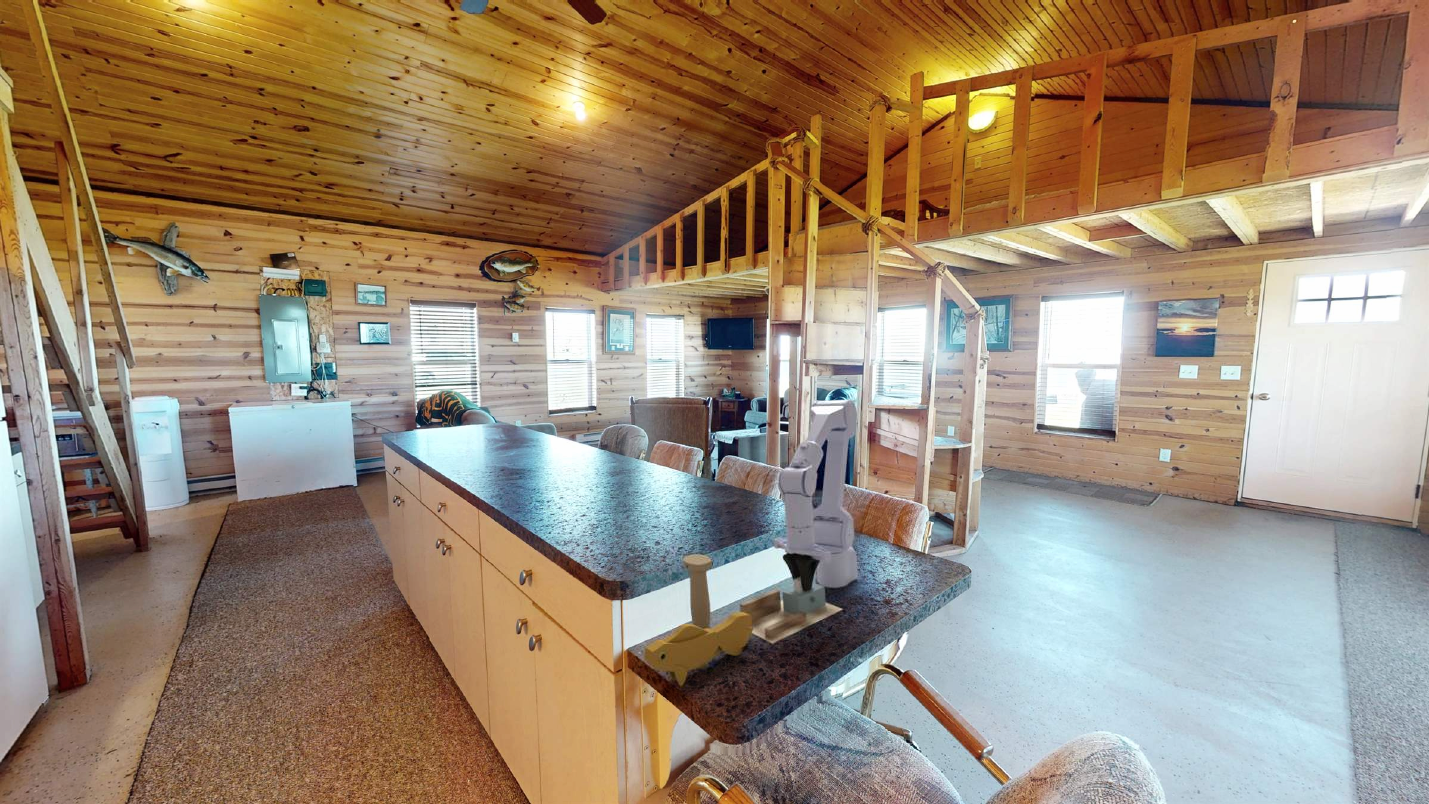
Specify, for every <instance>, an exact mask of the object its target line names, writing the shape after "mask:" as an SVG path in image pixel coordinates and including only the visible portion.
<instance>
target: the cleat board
mask: <svg viewBox="0 0 1429 804" xmlns="http://www.w3.org/2000/svg"><path fill="white" fill-rule="evenodd" d="M825 603H826V605H825V606H823V607H821V608H818V609H816V610H814V611H812V612H810V613H808V614H806V613H804V612H802V611H801V612H799V613H797V614H795V615H793V614H790V613H788V612H786V611H784V609H783V599H782V600H781V591H780V590H779V589H773V590H770V591H768V592H766V593H763V594H760V595H758V596H756V597H755V596H754V597H753V598H751V599H748V600H746V601H742V602H741V603H739V612H744V613H746V614H748V615H751V616H752V624H751V627H753V631H752V633H751V634H753V635H755V636H756V637H759V638H760V639H762V640H765V641H766V642H768V643H771V644H775V643H777V642H779V641H782V639H783V640H784V639H785V638H787V637H790V636H791V635H793V634H795V633H797V632H800V631H801V630H803V629H806V628H809V626H811V625H814V624H816V623H818V622H820V621H821V620H824V619H826V618H828V617H830V616H832V615H834V614H836V613H838V612H841V611H843V608H840V607H838V606H836V605H834V604H831V603H828V602H826V601H825Z"/></svg>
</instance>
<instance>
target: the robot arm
mask: <svg viewBox="0 0 1429 804" xmlns="http://www.w3.org/2000/svg"><path fill="white" fill-rule="evenodd" d="M809 412H810V414H809V415H810V420H811V424H810V425H811V426H810V429H809V431H808V435H807V437H806V441H802V442H800V443H799V445H798V446H797V448H796V451H795V452H794V454H793V457H792V458H791V460H790V463H789V465H788V466H787V467H785V468H784V469H782V470H781V471H780V472H779V474H778V482H777V487H778V490H779V493H780V495H781V501H782V504H784V514H785V515H784V516H785V531H786V538H785V537H781V536H780V537H776V538H773V546H774V547H773V548H774V549H782V550H784V552H785V554H783V555H782V560H783V561H784V563H785V564H786V566H787V568H788V570H789V572H790V574H791V575H790V576H791V577H792V580H793V582H794V579H795V578H798V577H801V585H802V589H803V591H808V590H810V589H812V583H814V578H815V573H816V577H817V579H816V580H817V584H819V585H821V586H824V587H825V588H834V589H836V588H842V587H846V586H848V585H849V584H850V583H851V582H853V581H856V580H858V579H859V576H858V558H857V553H856V551H855V548H853V544H854V540H855V529H854V518H853V515H851V514H850V513H849V512H848V511H847V510H846V509H845V508H844V507H843V504H844V496H845V495H844V494H845V493H844V492H845V483H846V482H845V481H846V474H847V473H846V472H847V461H848V452H849V451H848V450H849V440H850V439H851V438H853V437H854V436H855V434H856V431H857V421H858V411H857V407H856V404H855V402H854V401H853V400H852V399H851V398H849V399H837V400H834V399H833V400H818V399H817V400H814V401H813V402H812V404H811V406H810V411H809ZM825 441H827V446H826V447H827V448H826V457H825V466H824V467H825V468H824V474H823V475H824V476H823V487H822V493H821V494H822V496H821V504H820V505H819V506H818V507H816V508H815V509H813V508H814V507H813V494H814V493H815V491H816V488H817V479H818V472H817V471H818V468H819V466H820V464H821V462H822V459H823V456H824V450H823V449H822V447H823V445H824V443H825Z"/></svg>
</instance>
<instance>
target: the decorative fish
mask: <svg viewBox="0 0 1429 804" xmlns="http://www.w3.org/2000/svg"><path fill="white" fill-rule="evenodd" d="M751 624H752V616H751V615H748V614H746V613H744V612H740V611H738V612H732V613H731V614H730V615H729V616H728V617H727V618H726V619H724V620H723V621H722V622H720V623H717V625H715V626H714V627H712V628H710V627H709V628H710V629H709V628H706V629H702V628H700V627H697V626H695V625H693V623H692V624H691V623H683V624H681V625H680V626H678V627H677V628H676V629H675V630H674V632H672V633H671V634H669V635H668V636H667V637H665V638H664V639H662V638H661V639H656V640H655V641H653V642H652V643H650V644H649V645H647V646H646V647H645V648H644V649H645V650H644V656H643V658H644V660H645V661H646V662H647V664H648V665H649V666H650V667H652V668H653V669H655V670H656V671H663V672H668V676H669V678H670V680H671V681H673V680H674V681H675V679H676V680H677V681H676V682H677V683H678V685H679V686H680V687H683V685H684V684H685V682H686V679H687V675H688V671H692V670H697V669H700V668H701V667H704V666H705V665H706V664H707V663H710V661H712V660H713V659H715V658H716V657H717V656H718V655H719V654H720V653H722V652H724V653H725V654H728V655H731V656H739V655H741V653H742V652H743V650H744V647H746V645H747V643H748V642H749V639H750V637H751V635H752V634H753V633H752V631H753V627H751Z"/></svg>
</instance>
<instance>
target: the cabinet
mask: <svg viewBox="0 0 1429 804" xmlns="http://www.w3.org/2000/svg"><path fill="white" fill-rule="evenodd" d="M825 588H826V587H825V586H822V585H820V584H819V583H816V582H813V583H812V589H810V590H808V591H803V589H802V585H801V577H798V578H795V579H794V581H793V587H790V588H788V589H786V590H783V591H782V593H781V594H782V600H783V609H784V611H786V612H788V613H790V614H793V615H795V614H797V613H799V612H801V611H802V612H804V613H806V614H808V613H810V612H812V611H814V610H816V609H818V608H821V607H823V606H825V605H826V603H827V602H826V590H825ZM825 602H826V603H825Z"/></svg>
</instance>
